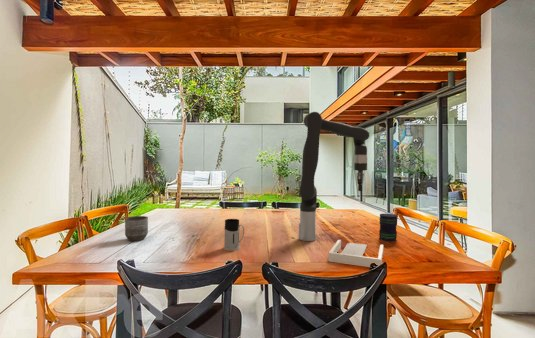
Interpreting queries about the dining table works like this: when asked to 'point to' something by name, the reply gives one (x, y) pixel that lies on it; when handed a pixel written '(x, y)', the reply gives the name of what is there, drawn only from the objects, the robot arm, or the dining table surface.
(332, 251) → the frame
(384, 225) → the storage jar
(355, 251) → the baseboard
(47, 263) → the dining table surface
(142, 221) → the planter
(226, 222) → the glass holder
